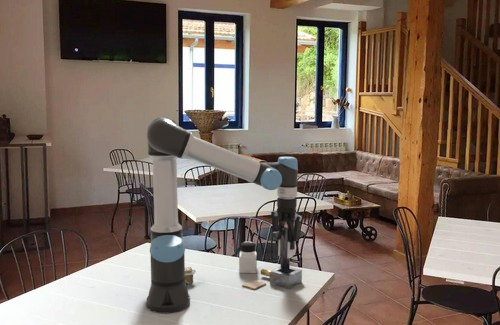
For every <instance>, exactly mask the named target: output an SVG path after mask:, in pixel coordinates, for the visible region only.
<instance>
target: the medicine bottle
mask: <svg viewBox="0 0 500 325" xmlns="http://www.w3.org/2000/svg"><path fill="white" fill-rule="evenodd" d="M257 257H258V255H257V251H256V243H255V242H254V241H253V242H252V241H243V242H242V243H240V251H239V256H238V273H239V274H256V273H257V266H258V265H257V260H258V258H257Z"/></svg>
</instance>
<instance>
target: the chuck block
mask: <svg viewBox="0 0 500 325" xmlns="http://www.w3.org/2000/svg"><path fill="white" fill-rule="evenodd" d="M260 275H261V276H266V277H269V284H270V285H274V286H278V287H281V288H284V289H288V290H290V289H291V288H293V287H296V286H297V285H300V284H301V283H302V281H303V270H302V269H300V268H295V267H292V266H290V268H289V269H281V268H280V266H278V267H276V268H274V269H272V270H269V269H266V268H262V269H261V270H260Z"/></svg>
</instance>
